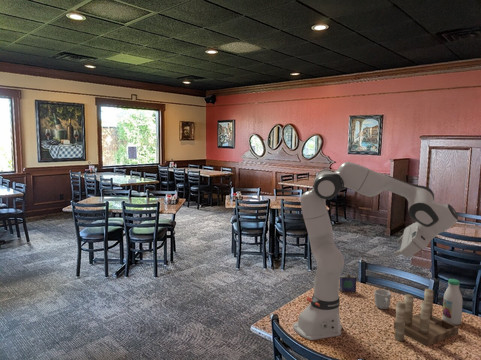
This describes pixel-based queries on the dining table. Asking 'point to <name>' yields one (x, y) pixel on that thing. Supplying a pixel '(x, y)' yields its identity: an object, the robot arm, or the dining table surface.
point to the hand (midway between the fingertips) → (396, 248)
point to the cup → (382, 298)
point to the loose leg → (400, 320)
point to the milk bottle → (452, 303)
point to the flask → (347, 283)
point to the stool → (426, 322)
